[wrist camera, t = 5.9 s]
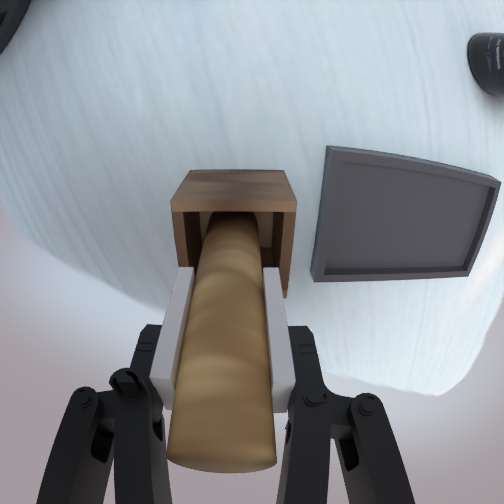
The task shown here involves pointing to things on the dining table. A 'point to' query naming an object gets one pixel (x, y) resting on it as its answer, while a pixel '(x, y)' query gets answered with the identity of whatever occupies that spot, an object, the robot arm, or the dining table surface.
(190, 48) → the dining table surface
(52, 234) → the dining table surface
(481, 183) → the tray
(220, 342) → the dowel
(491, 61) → the supplement bottle
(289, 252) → the box
